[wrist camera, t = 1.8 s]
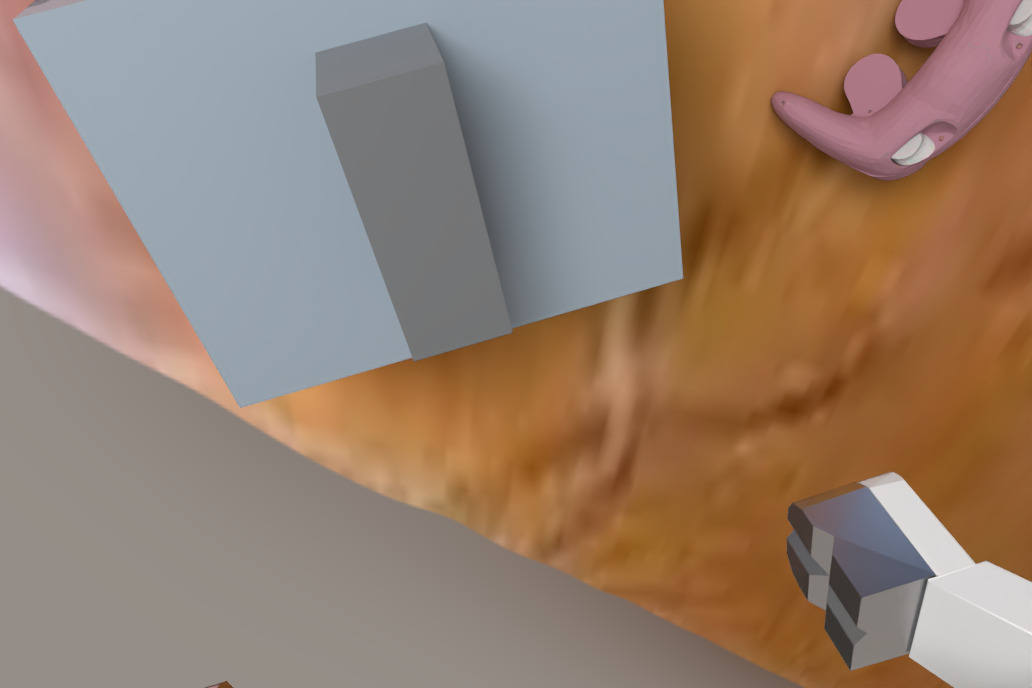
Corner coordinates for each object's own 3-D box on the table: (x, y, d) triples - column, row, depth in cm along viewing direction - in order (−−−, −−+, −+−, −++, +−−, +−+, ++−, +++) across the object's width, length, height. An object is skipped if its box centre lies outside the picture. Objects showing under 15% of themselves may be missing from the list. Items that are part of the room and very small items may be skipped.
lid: (618, -158, 21) (710, -137, 16) (656, 241, 29) (725, 335, 24) (43, -7, 20) (-41, 64, 15) (245, 360, 28) (231, 482, 24)
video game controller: (794, 129, 37) (914, 212, 33) (753, 106, 33) (882, 197, 30) (946, -74, 33) (1102, -3, 29) (918, -124, 29) (1090, -50, 26)
